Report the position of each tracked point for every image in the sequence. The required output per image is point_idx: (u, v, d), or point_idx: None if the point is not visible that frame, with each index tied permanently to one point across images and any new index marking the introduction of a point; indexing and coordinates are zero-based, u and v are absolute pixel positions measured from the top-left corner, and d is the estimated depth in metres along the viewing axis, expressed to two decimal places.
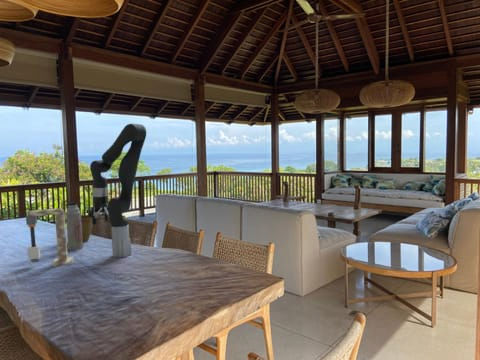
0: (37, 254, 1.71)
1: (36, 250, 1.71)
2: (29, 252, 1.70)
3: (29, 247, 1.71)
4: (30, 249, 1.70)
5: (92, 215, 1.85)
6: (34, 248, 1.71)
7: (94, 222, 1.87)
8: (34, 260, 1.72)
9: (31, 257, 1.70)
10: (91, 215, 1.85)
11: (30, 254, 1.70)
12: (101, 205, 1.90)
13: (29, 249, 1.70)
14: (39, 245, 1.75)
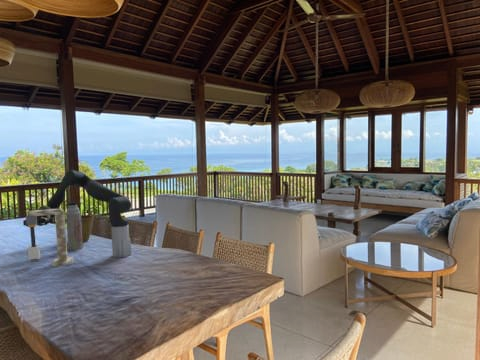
0: (37, 254, 1.71)
1: (36, 250, 1.71)
2: (29, 252, 1.70)
3: (29, 247, 1.71)
4: (30, 249, 1.70)
5: (24, 220, 1.85)
6: (34, 248, 1.71)
7: None
8: (34, 260, 1.72)
9: (31, 257, 1.70)
10: (23, 221, 1.84)
11: (30, 254, 1.70)
12: (39, 218, 1.91)
13: (29, 249, 1.70)
14: (39, 245, 1.75)
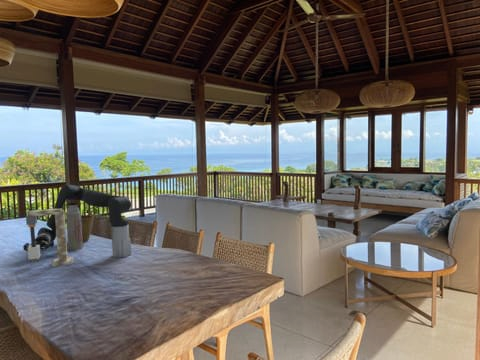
0: (37, 254, 1.71)
1: (36, 250, 1.71)
2: (29, 252, 1.70)
3: (29, 247, 1.71)
4: (30, 249, 1.70)
5: (24, 245, 1.81)
6: (34, 248, 1.71)
7: (26, 247, 1.78)
8: (34, 260, 1.72)
9: (31, 257, 1.70)
10: (23, 246, 1.81)
11: (30, 254, 1.70)
12: (39, 241, 1.88)
13: (29, 249, 1.70)
14: (39, 245, 1.75)
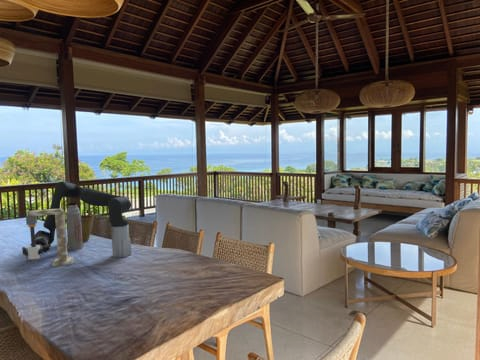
0: (37, 254, 1.71)
1: (36, 250, 1.71)
2: (29, 252, 1.70)
3: (29, 247, 1.71)
4: (30, 249, 1.70)
5: (24, 249, 1.74)
6: (34, 248, 1.71)
7: (26, 252, 1.70)
8: (34, 260, 1.72)
9: (31, 257, 1.70)
10: (23, 250, 1.73)
11: (30, 254, 1.70)
12: None
13: (29, 249, 1.70)
14: (39, 245, 1.75)
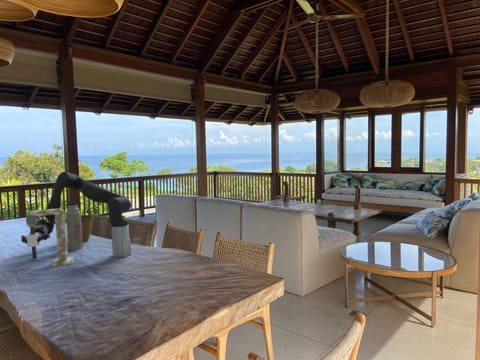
0: (36, 242, 1.71)
1: (35, 238, 1.70)
2: (28, 240, 1.69)
3: (28, 235, 1.70)
4: (29, 237, 1.69)
5: (23, 237, 1.73)
6: (33, 236, 1.70)
7: (25, 239, 1.70)
8: (34, 260, 1.72)
9: (30, 245, 1.70)
10: (22, 238, 1.73)
11: (29, 242, 1.70)
12: None
13: (28, 237, 1.69)
14: (38, 233, 1.74)
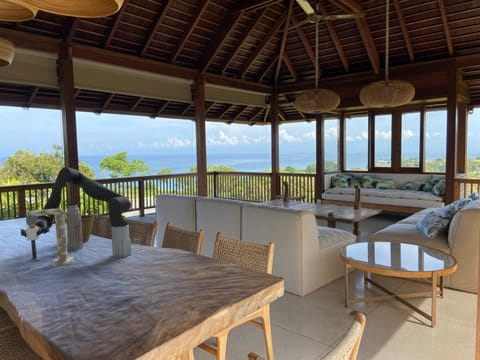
0: (36, 235, 1.70)
1: (35, 231, 1.70)
2: (27, 233, 1.69)
3: (27, 228, 1.70)
4: (28, 230, 1.69)
5: (22, 230, 1.73)
6: (33, 229, 1.70)
7: (24, 233, 1.69)
8: (34, 260, 1.72)
9: (29, 238, 1.69)
10: None
11: (28, 235, 1.69)
12: None
13: (27, 230, 1.69)
14: None
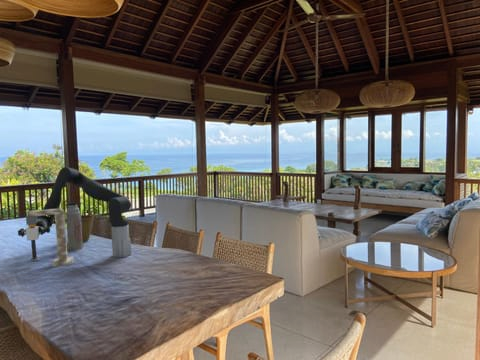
0: (36, 235, 1.70)
1: (34, 231, 1.70)
2: (27, 233, 1.69)
3: (27, 228, 1.70)
4: (28, 230, 1.69)
5: (19, 230, 1.73)
6: (33, 229, 1.70)
7: (21, 233, 1.70)
8: (34, 260, 1.72)
9: (29, 238, 1.69)
10: (18, 231, 1.73)
11: (28, 235, 1.69)
12: None
13: (27, 230, 1.69)
14: None
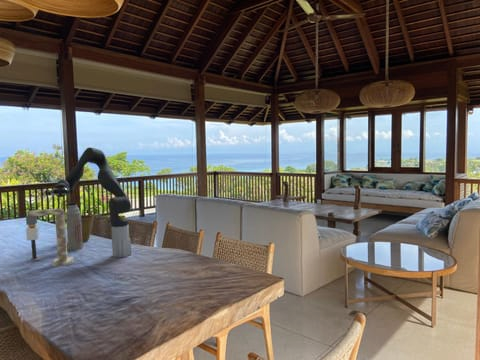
0: (36, 235, 1.70)
1: (34, 231, 1.70)
2: (27, 233, 1.69)
3: (27, 228, 1.70)
4: (28, 230, 1.69)
5: None
6: (33, 229, 1.70)
7: (48, 192, 1.85)
8: (34, 260, 1.72)
9: (29, 238, 1.69)
10: (45, 191, 1.88)
11: (28, 235, 1.69)
12: (59, 189, 1.95)
13: (27, 230, 1.69)
14: None
